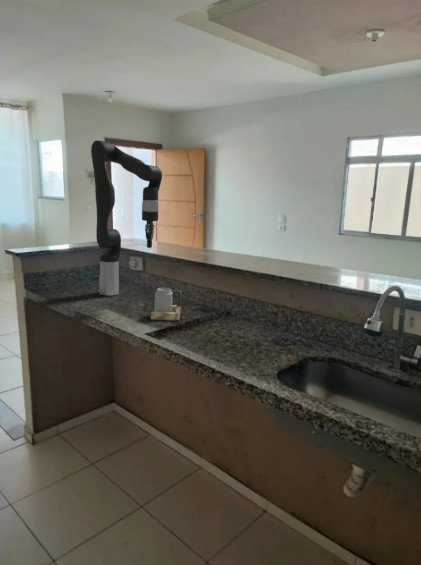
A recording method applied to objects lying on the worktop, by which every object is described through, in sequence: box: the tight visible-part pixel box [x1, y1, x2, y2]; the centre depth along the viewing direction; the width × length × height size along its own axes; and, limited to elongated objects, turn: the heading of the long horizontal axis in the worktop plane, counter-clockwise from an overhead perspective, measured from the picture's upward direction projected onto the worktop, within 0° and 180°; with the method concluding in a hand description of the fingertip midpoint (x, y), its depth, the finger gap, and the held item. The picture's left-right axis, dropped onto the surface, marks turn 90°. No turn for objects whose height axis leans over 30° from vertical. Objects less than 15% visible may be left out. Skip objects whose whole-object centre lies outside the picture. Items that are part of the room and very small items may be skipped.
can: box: [154, 287, 174, 312], centre depth 175 cm, size 8×8×12 cm
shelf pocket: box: [150, 289, 182, 322], centre depth 176 cm, size 12×13×10 cm
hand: (149, 247), depth 189 cm, fingers closed
